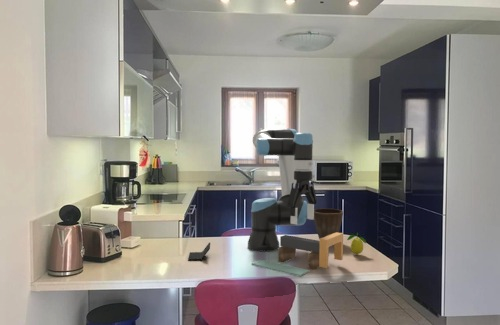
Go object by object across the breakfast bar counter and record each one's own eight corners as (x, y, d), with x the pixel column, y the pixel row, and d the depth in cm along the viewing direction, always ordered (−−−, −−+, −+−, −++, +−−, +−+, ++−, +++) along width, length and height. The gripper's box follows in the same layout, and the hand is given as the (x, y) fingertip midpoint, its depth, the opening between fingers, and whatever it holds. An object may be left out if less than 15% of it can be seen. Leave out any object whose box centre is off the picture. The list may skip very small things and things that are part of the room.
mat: (251, 264, 164) (251, 263, 164) (261, 260, 170) (261, 259, 170) (300, 276, 150) (300, 274, 150) (309, 271, 155) (309, 270, 155)
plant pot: (325, 247, 193) (326, 214, 192) (306, 240, 206) (306, 209, 205) (348, 243, 200) (349, 211, 200) (328, 237, 213) (329, 207, 213)
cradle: (278, 261, 169) (278, 247, 168) (290, 256, 177) (291, 243, 176) (314, 269, 158) (314, 254, 158) (325, 263, 166) (326, 249, 166)
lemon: (346, 254, 180) (347, 232, 179) (352, 252, 184) (352, 230, 184) (360, 257, 176) (361, 235, 175) (366, 254, 180) (366, 232, 180)
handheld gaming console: (185, 250, 179) (199, 233, 179) (197, 259, 181) (211, 242, 181) (187, 261, 168) (202, 243, 168) (200, 270, 170) (215, 252, 170)
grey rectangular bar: (280, 245, 171) (280, 236, 171) (285, 244, 175) (285, 234, 174) (320, 253, 160) (320, 243, 160) (324, 251, 163) (324, 241, 163)
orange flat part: (319, 266, 154) (319, 238, 154) (335, 258, 166) (336, 232, 165) (326, 268, 152) (326, 239, 152) (342, 259, 164) (343, 233, 163)
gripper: (295, 172, 153) (294, 227, 154) (325, 169, 173) (324, 218, 174) (278, 171, 158) (278, 224, 159) (309, 168, 178) (309, 216, 178)
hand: (302, 221), depth 166 cm, fingers open, 13 cm apart
